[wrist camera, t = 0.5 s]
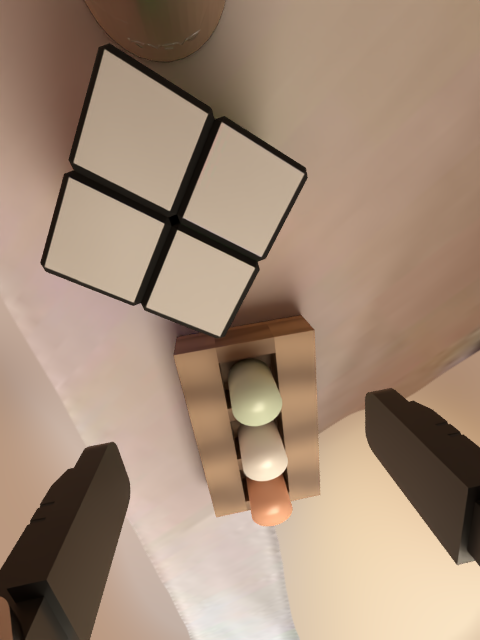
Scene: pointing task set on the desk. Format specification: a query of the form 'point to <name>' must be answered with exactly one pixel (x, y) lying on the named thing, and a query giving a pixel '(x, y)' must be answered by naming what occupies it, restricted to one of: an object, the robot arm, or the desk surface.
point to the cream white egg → (262, 451)
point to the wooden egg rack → (216, 411)
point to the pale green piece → (253, 393)
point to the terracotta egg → (269, 501)
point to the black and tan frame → (166, 199)
